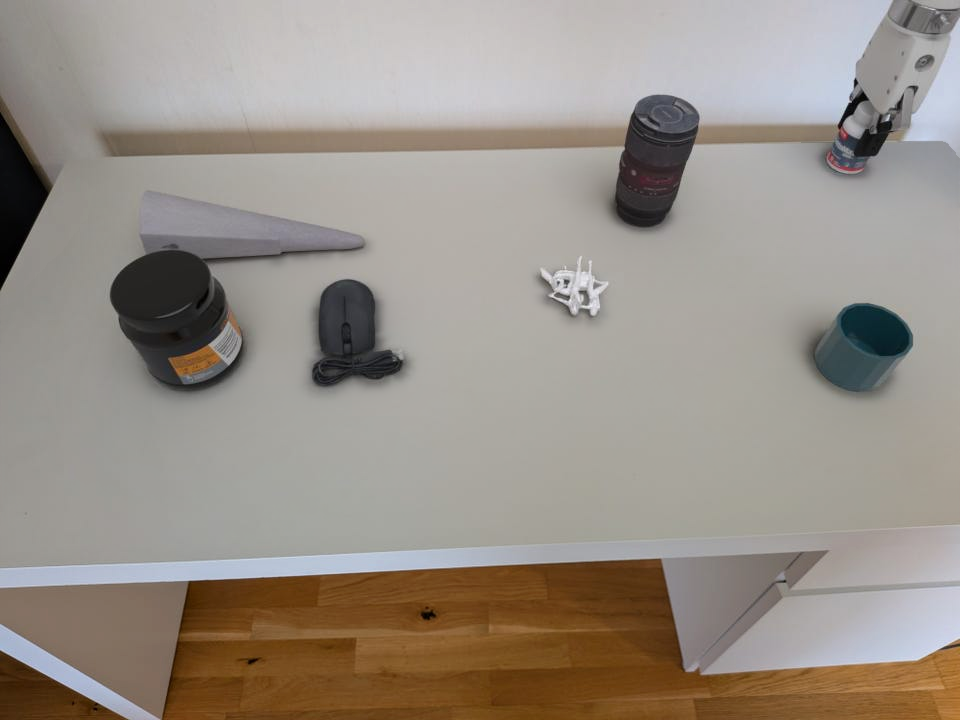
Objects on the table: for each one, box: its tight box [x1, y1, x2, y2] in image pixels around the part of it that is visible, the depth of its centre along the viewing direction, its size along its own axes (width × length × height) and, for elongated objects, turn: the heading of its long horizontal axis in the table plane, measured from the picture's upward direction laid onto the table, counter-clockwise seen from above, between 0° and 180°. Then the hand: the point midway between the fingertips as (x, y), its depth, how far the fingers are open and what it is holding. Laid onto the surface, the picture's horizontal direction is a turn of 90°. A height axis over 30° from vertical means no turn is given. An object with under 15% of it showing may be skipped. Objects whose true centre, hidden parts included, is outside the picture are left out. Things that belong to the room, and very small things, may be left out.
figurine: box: [539, 255, 610, 317], centre depth 81 cm, size 3×8×8 cm
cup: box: [814, 302, 914, 393], centre depth 74 cm, size 8×8×6 cm
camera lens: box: [614, 93, 701, 228], centre depth 85 cm, size 8×8×15 cm
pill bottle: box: [826, 101, 890, 175], centre depth 94 cm, size 5×5×9 cm
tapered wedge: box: [139, 189, 365, 260], centre depth 86 cm, size 8×9×26 cm
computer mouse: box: [311, 278, 405, 387], centre depth 77 cm, size 10×15×4 cm
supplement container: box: [109, 250, 245, 391], centre depth 71 cm, size 10×10×12 cm
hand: (856, 140), depth 95 cm, fingers closed on pill bottle, 5 cm apart
